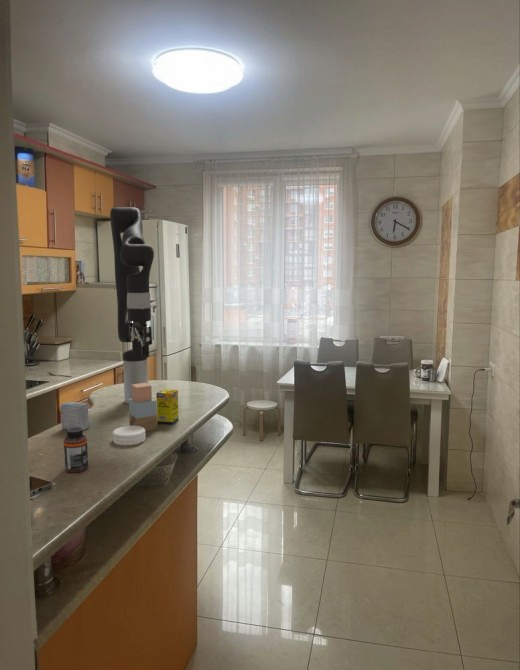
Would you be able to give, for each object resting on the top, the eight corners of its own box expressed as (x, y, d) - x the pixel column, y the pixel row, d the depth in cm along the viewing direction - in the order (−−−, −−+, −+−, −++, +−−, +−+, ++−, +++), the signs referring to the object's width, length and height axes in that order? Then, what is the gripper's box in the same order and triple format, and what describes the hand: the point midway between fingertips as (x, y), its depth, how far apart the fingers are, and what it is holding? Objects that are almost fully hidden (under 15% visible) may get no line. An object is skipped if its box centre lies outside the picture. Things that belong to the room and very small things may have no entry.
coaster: (106, 443, 164) (105, 432, 163) (126, 433, 173) (125, 423, 172) (133, 448, 160) (132, 437, 159) (151, 437, 169) (151, 427, 169)
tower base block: (129, 427, 179) (129, 413, 178) (149, 424, 183) (148, 410, 182) (137, 433, 173) (136, 418, 173) (157, 429, 177) (156, 415, 176)
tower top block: (129, 413, 178) (128, 398, 178) (148, 410, 182) (148, 395, 181) (136, 418, 173) (136, 403, 172) (156, 415, 176) (156, 400, 176)
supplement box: (173, 424, 182) (172, 393, 180) (156, 423, 183) (155, 392, 181) (179, 419, 188) (178, 389, 186) (163, 418, 189) (162, 388, 187)
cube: (132, 399, 177) (131, 384, 177) (146, 396, 180) (145, 382, 179) (137, 402, 173) (136, 387, 173) (151, 400, 176) (151, 385, 175)
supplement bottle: (68, 465, 146) (66, 425, 145) (90, 464, 147) (88, 425, 145) (62, 473, 141) (60, 433, 139) (85, 473, 141) (83, 432, 139)
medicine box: (89, 428, 178) (88, 403, 177) (81, 432, 174) (80, 406, 173) (70, 425, 181) (69, 401, 180) (61, 429, 177) (60, 404, 175)
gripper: (120, 305, 176) (122, 353, 178) (135, 308, 164) (137, 360, 167) (141, 303, 180) (143, 350, 182) (158, 307, 168) (160, 357, 171)
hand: (140, 355), depth 174 cm, fingers open, 8 cm apart
